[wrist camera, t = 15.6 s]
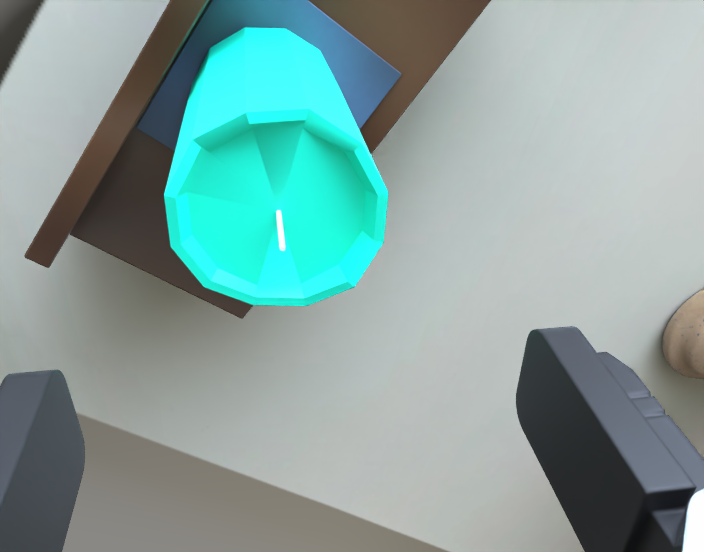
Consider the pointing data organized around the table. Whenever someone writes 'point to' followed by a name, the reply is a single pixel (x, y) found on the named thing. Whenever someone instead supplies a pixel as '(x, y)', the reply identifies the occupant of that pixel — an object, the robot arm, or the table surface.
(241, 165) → the candle
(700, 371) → the candle holder
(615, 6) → the table surface
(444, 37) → the shelf
